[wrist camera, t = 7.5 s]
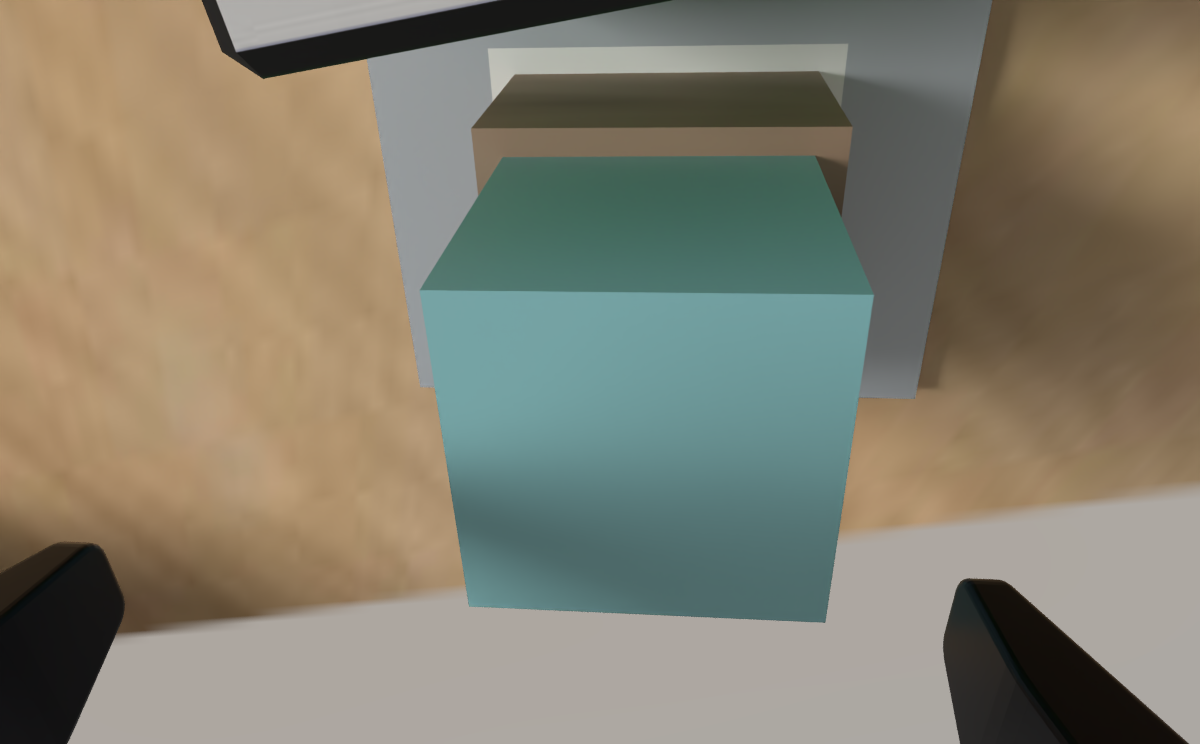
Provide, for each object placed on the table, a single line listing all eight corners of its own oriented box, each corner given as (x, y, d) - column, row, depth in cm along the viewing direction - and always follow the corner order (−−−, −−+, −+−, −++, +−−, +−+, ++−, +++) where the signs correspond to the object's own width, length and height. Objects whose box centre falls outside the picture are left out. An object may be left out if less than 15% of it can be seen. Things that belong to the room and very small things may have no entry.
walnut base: (791, 340, 20) (813, 442, 16) (535, 336, 20) (503, 433, 17) (819, 71, 16) (852, 126, 13) (514, 74, 17) (470, 128, 14)
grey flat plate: (909, 385, 21) (914, 399, 20) (426, 374, 22) (420, 387, 21) (985, -21, 16) (995, -17, 15) (366, -9, 17) (356, -4, 17)
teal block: (814, 155, 13) (873, 295, 9) (788, 418, 16) (825, 622, 12) (502, 157, 14) (420, 290, 10) (526, 412, 16) (469, 606, 12)
